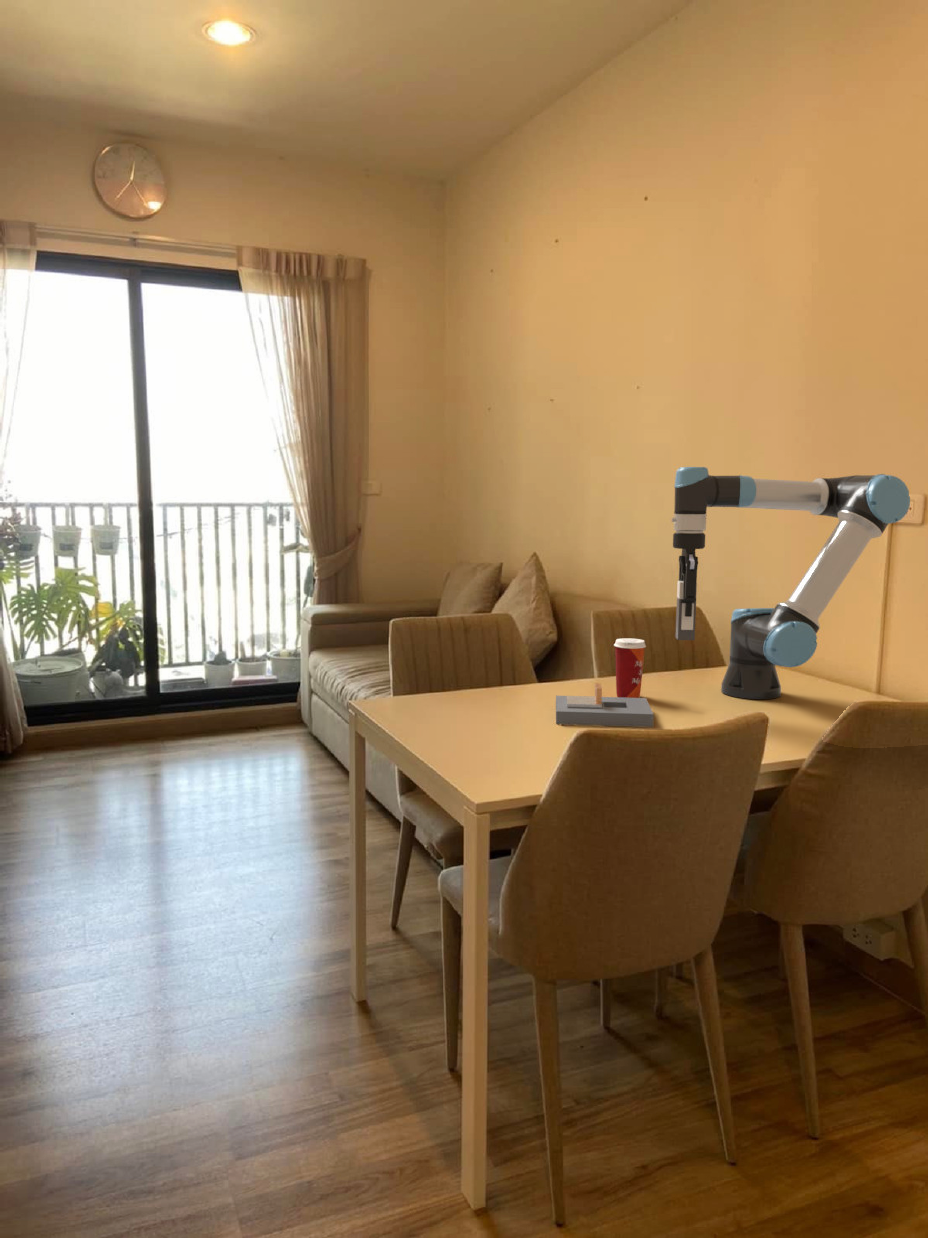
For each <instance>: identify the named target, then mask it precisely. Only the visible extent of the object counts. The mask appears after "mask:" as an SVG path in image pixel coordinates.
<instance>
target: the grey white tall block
mask: <svg viewBox="0 0 928 1238" xmlns="http://www.w3.org/2000/svg"><path fill="white" fill-rule="evenodd" d="M683 585H684V582H683V581H679V580H677V587H676V588H677V589H676V590H677V591H676V613H675V615H676V616H675V620H676V621H675V639H676V640H677V641H695V637H696V615H697V614H696V612H697V600H696V601H695V602H694V617H693V630H681V620H682V603H680V601H681V600H683ZM697 589H698V582H697V583H696V595H697V591H698V590H697Z"/></svg>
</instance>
